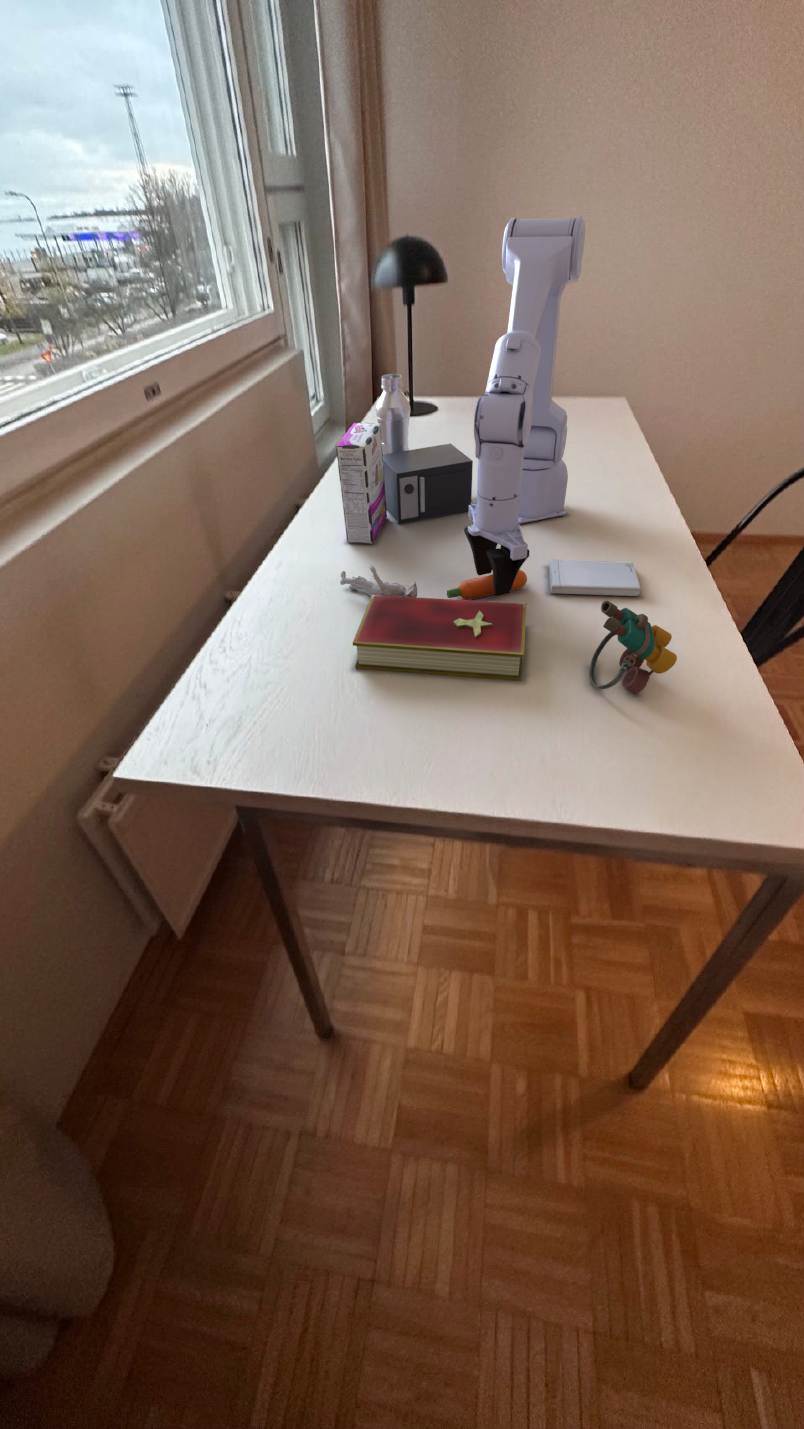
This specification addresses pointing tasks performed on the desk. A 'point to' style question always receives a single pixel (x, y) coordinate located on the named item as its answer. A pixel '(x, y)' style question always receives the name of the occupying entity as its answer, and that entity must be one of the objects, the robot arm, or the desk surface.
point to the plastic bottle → (393, 415)
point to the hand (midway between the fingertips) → (492, 583)
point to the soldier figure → (379, 586)
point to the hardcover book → (442, 637)
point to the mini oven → (427, 483)
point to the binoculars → (634, 648)
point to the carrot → (483, 586)
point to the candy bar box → (362, 482)
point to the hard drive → (593, 578)
